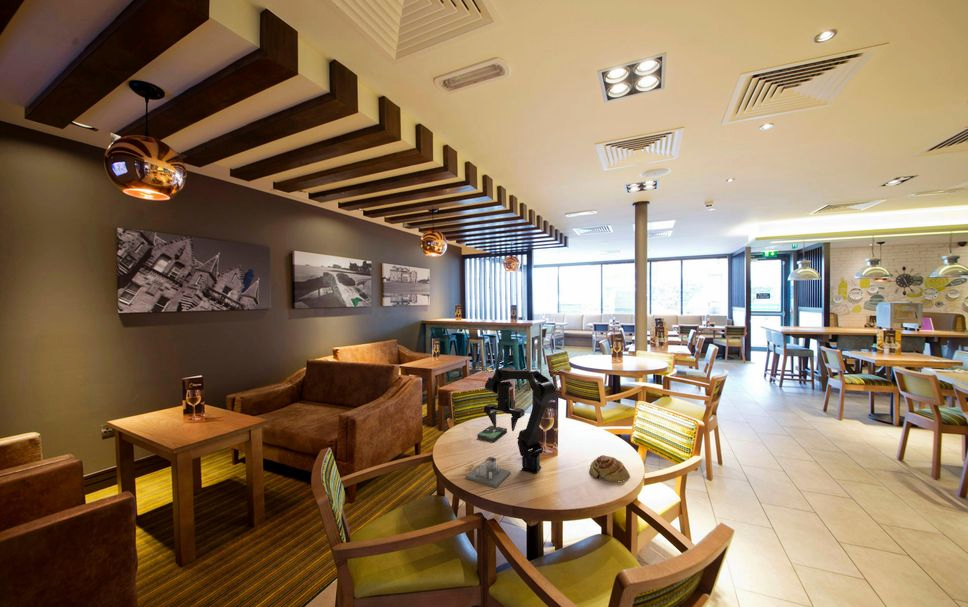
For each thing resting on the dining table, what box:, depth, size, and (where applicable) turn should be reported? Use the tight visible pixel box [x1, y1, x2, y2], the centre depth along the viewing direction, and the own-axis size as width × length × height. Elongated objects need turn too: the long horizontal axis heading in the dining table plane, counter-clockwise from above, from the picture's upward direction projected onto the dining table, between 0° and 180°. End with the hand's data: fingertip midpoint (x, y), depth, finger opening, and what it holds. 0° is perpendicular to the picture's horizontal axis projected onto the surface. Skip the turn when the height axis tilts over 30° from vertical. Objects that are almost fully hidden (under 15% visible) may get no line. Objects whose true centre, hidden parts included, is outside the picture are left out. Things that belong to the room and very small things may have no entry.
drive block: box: [479, 456, 497, 479], centre depth 138 cm, size 3×8×5 cm, turn 149°
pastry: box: [588, 454, 631, 483], centre depth 139 cm, size 13×15×8 cm
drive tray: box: [465, 464, 511, 488], centre depth 138 cm, size 14×12×4 cm
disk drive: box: [476, 425, 508, 443], centre depth 181 cm, size 10×3×15 cm
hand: (504, 429), depth 157 cm, fingers open, 9 cm apart
